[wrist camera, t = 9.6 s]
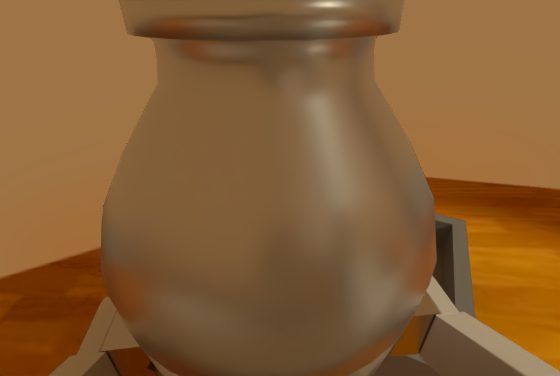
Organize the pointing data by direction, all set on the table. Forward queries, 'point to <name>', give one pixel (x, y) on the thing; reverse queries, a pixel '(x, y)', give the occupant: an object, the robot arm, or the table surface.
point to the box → (453, 280)
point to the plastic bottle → (267, 193)
